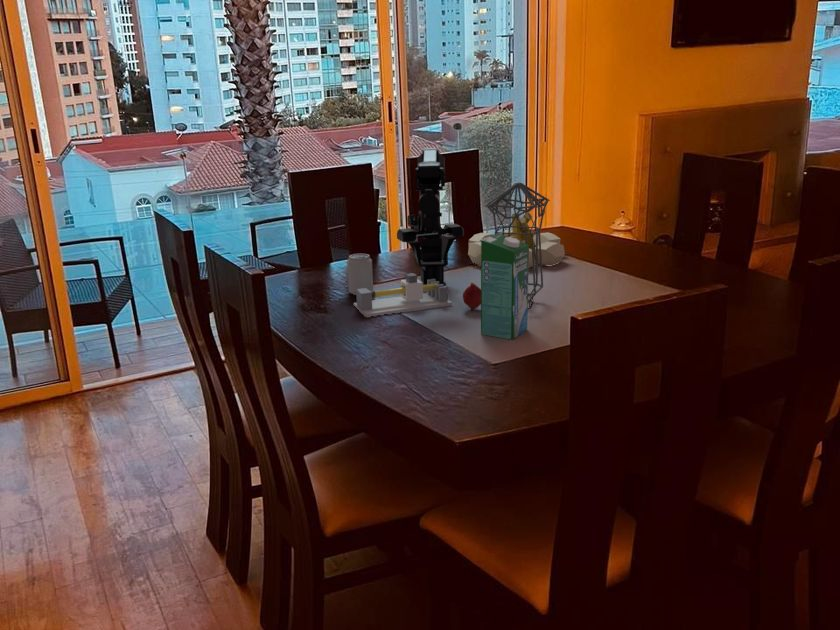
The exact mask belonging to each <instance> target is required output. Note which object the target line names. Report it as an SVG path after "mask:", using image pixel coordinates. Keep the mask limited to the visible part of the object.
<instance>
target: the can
mask: <svg viewBox="0 0 840 630" xmlns="http://www.w3.org/2000/svg"><path fill="white" fill-rule="evenodd" d="M373 274H374V273H373V259H371V257H370V254H367V253H353V254H350V255H349V256H348V260H347V280H348V281H347V282H348V292H349V293H350V294H351V295H352V294H353V296H355V295H356V289H362V288H367V289H368V290H369V291H374V279H373V277H374V276H373Z"/></svg>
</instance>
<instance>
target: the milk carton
mask: <svg viewBox="0 0 840 630" xmlns="http://www.w3.org/2000/svg"><path fill="white" fill-rule="evenodd" d="M493 234H494V235H492V236H489V237H487V238H484V239H482V240H481V267H480V289H481V305H480V335H483V336H488V337H495V338H500V339H506V340H512V341H513V340H514V339H516V338H517V337H518V336H520V335H522V332H523V331H524V332H526V331H527V330H528V318H529V317H528V314H529V313H528V312H529V311H528V307H529V302H528V299H529V297H528V293H529V285H528V283H529V270H530V268H529V245H528V244H525V243H523V242H520V241H519V240H518V239H515V238H512V237H507V236H504V235H501V234H499V233H496V234H495V233H493ZM526 329H527V330H526ZM525 330H526V331H525ZM524 332H523V333H524Z"/></svg>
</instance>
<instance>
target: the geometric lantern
mask: <svg viewBox="0 0 840 630" xmlns="http://www.w3.org/2000/svg"><path fill="white" fill-rule="evenodd" d="M521 191H522V192H521ZM521 193H523V194H524V196H525V197H526V199H527V200H528V201H523V200H522V196H521ZM509 194H510V195H509ZM513 194H514V199H512V196H513ZM508 195H509V196H508ZM535 195H536V196H535ZM507 196H508V198H506V197H507ZM537 196H538V197H540V198H538V197H537ZM517 197H519V199H518V200H517ZM501 201H504V202H505V205H501V204H500V205H499V203H501ZM549 201H551V199H549V198H547V197H546V196H544V195H542V194H541V193H539V192H537V191H535V190H534V189H532V188H531V187H529V186H527V185H526V184H524V183H523V182H515V183H513V184H512V185H511V186H510V187H509V188H507V189H506V190H504V191H503V192H501V193H500V194H499V195H497V196H496V197H495V198H493V199H492V200H489V202H487V203H486V204H485V206H486V207H487V209H488V210H489V211H490V212H491V213H492V215H493V223H494V234H496V233H500V234H502V235H504V234H508V237H510V234H520V235H525V244H527V235H531V241H532V262H533V266H532V277H533V279H532V280H533V283H531V282H528V286H533V289H532V291H531V292H530V293H529V292H528V307H530V305H531V301H530V300H533V301H534V297H535V296H536V295H537V294H538V293H539V292H540V291H541V290H542V289H543V288H544V278H543V277H544V276H543V265H542V256H541V239H540V233H541V230H542V225H543V220H544V216H545V214H546V213H545V212H546V207H547V205H548V203H549ZM511 202H514V203H511ZM517 203H520V206H517ZM523 204H526V205H525V206H523ZM529 204H530V205H529ZM528 205H529V206H528ZM499 208H501V209H503V210H504V213H502V212H500V211H499V210H498V209H499ZM508 208H509V209H513V212H514V213H513V214H515V216H512V215H511V216H507V211H506V209H508ZM535 208H537V215H536V216H535V219H534V220H533V217H532V218H531V216H532V215H531V216H530V214H531V211H533V210H534V209H535ZM516 211H517V212H516ZM516 213H517V214H516ZM525 213H528V215H529V216H530V218H531V220H530V221H531V222H532V226H529V227H525V226H523V225H522V223H521V221H520V220H519V218H520V216H522V215H524V214H525ZM529 213H530V214H529ZM496 216H497V219H498V220H499V222H500V224H499V225H498V226H497V221H496ZM500 216H501V217H503V219H502V220H501V217H500ZM518 216H519V218H518ZM540 217H541V218H540ZM512 218H514V219H513V220H512ZM516 218H517V220H518V221H519V223H520V225H521V226H512V224H513V222H514V220H515V219H516ZM538 218H540V222H539V227H538V226H536V224H535V223H536V221H537V219H538ZM505 219H506V220H508V219H511V222H510V224H509V225H504V224H503V223H504V221H505ZM512 227H516V228H523V230H524V231H525V233H510V230H511V228H512ZM525 228H529V229H531V230H530V233H527V231H526V230H525ZM505 229H507V230H508V233H506V232H504V231H505ZM533 229H535V231H533V232H534V233H531V231H532V230H533ZM500 230H502V231H500ZM533 234H534V235H536V256H535V251H534V242H533ZM538 237H539V254H540V266H539V263H538ZM534 259H535V263H536V265H535V263H534ZM538 267H539V268H540V284H539V282H538V281H539V280H538V277H539V276H538V275H539V271H538V270H539V268H538ZM537 286H538V287H539V288H538V289H537Z"/></svg>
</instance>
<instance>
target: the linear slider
mask: <svg viewBox="0 0 840 630" xmlns="http://www.w3.org/2000/svg"><path fill="white" fill-rule="evenodd" d="M448 287H449V286H445V285H443V284H439V281H436V280H435V279H430V280H427V285H424V284H423V299H420V300H413V301H406V300H405V299H403V298H402V297H401V296H398V295H401V294H406V292H405V287H404V288H401V287H397V288H388V289H382V290H375V291H374V290H373V291H369V290H368V289H367V288H362V289H356V302H353V307H354V306H355V307H356V308H357V309H358V310H359V311H358V310H357V309H356V308H355V307H354V308H355V309H356V310H357V311H358V312H359V313H361V314H362V315H363V316H364V318H366V317H367V318H372V317H371V316H374V317H378V316H377V315H381V316H385V315H384V314H388V315H393V314H392V313H395V314H401V313H400V312H403V313H408V312H415V311H416V312H417V311H423V310H430V309H438V308H445V307H452V306H453V302H452V301H450V300H449V299H448V296H449V293H448V290H449V289H448ZM424 292H425V293H424ZM391 296H394V297H391ZM381 297H383V298H381ZM384 297H387V298H384ZM376 298H378V299H376Z"/></svg>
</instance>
